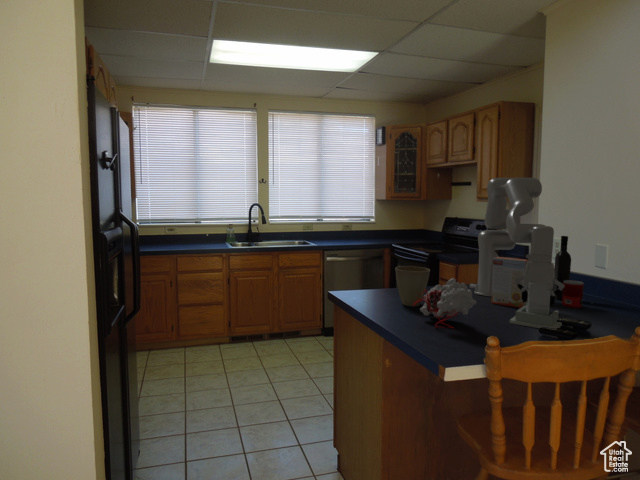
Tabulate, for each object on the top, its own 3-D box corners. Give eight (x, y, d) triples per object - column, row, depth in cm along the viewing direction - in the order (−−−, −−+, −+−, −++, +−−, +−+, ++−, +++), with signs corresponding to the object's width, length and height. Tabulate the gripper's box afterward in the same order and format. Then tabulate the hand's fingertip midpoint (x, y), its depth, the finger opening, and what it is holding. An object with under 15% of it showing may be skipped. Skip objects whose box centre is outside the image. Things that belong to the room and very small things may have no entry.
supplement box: (546, 313, 177) (548, 280, 175) (549, 318, 170) (551, 284, 168) (525, 311, 179) (527, 279, 178) (527, 316, 172) (529, 282, 171)
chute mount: (509, 323, 174) (510, 310, 173) (519, 315, 185) (520, 304, 184) (555, 331, 164) (556, 318, 164) (563, 323, 175) (564, 311, 175)
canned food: (584, 308, 199) (586, 283, 198) (564, 307, 201) (566, 282, 199) (578, 304, 206) (580, 280, 205) (559, 303, 208) (560, 279, 207)
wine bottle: (564, 297, 220) (568, 235, 218) (569, 300, 215) (573, 236, 212) (551, 297, 221) (555, 235, 218) (556, 300, 215) (560, 236, 213)
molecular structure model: (416, 345, 169) (465, 320, 151) (395, 299, 175) (440, 270, 157) (450, 334, 181) (499, 309, 163) (429, 291, 187) (474, 263, 169)
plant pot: (401, 309, 192) (402, 271, 191) (389, 301, 207) (390, 266, 205) (434, 308, 195) (436, 271, 194) (420, 300, 210) (421, 265, 208)
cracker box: (527, 306, 201) (530, 259, 199) (522, 309, 197) (525, 260, 195) (496, 301, 211) (498, 256, 209) (490, 303, 206) (493, 257, 204)
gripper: (513, 257, 175) (511, 301, 176) (564, 262, 164) (561, 309, 166) (519, 255, 180) (516, 298, 182) (568, 260, 170) (565, 305, 172)
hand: (537, 303), depth 174 cm, fingers closed on supplement box, 9 cm apart
